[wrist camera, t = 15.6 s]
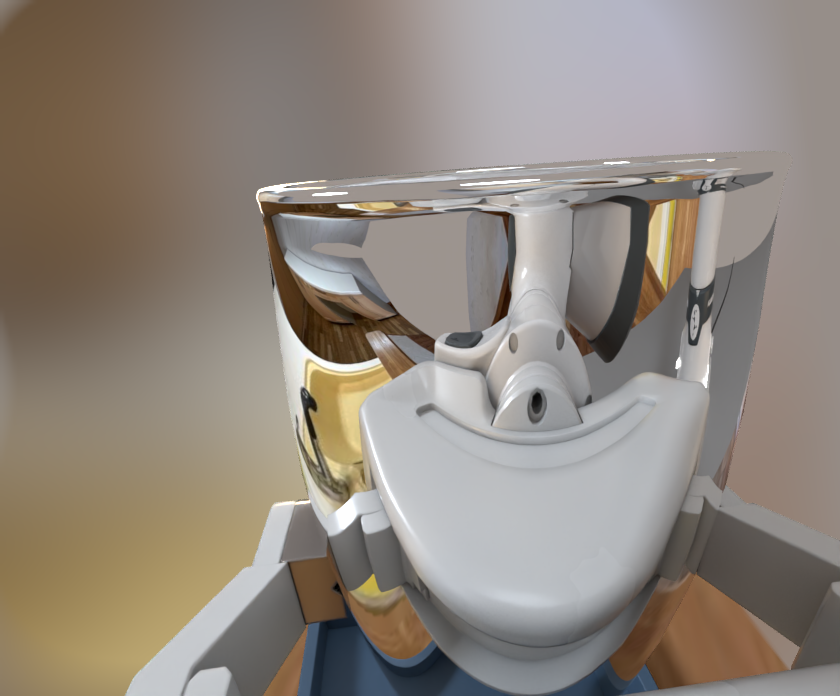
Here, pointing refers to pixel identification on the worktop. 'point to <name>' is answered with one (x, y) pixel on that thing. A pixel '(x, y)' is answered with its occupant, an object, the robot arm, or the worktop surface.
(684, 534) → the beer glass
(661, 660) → the worktop surface
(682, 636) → the worktop surface
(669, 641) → the worktop surface
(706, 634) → the worktop surface
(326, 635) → the tray
